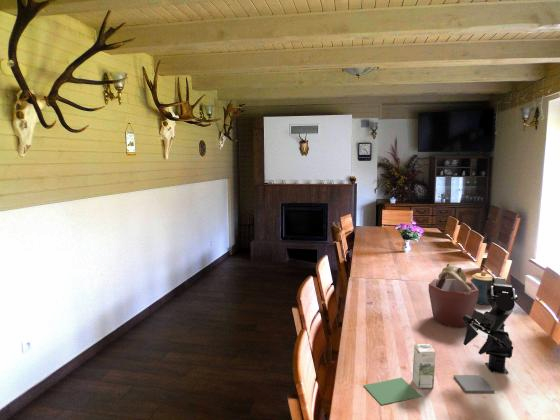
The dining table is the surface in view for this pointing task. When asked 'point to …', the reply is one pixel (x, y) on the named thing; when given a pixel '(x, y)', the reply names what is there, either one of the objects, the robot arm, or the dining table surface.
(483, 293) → the canister
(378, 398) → the felt mat
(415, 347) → the syrup box
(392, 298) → the dining table surface
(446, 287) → the bucket
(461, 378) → the slate coaster
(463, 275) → the frog figurine
